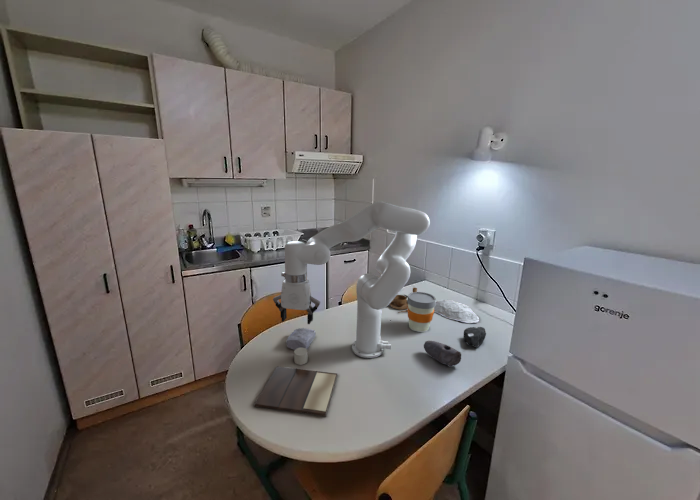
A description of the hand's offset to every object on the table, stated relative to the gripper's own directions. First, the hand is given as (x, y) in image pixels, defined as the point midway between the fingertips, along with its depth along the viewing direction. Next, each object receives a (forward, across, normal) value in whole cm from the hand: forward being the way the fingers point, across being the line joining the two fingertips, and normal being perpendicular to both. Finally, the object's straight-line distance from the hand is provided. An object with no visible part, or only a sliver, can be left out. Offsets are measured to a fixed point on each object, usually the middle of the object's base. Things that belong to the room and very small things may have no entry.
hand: (296, 321), depth 108 cm
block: (+16, -2, +11) cm, 20 cm away
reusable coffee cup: (+16, +47, +34) cm, 60 cm away
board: (+16, +6, -16) cm, 23 cm away
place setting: (+16, +42, +57) cm, 72 cm away
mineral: (+16, +69, +26) cm, 76 cm away
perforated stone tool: (+16, +54, +10) cm, 57 cm away
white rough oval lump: (+16, +66, +52) cm, 86 cm away
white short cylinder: (+16, +2, -1) cm, 16 cm away
